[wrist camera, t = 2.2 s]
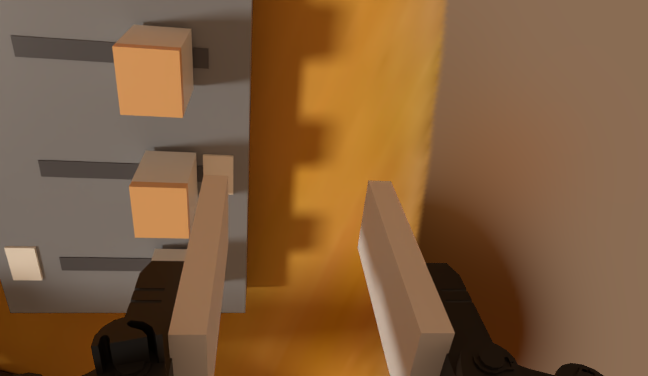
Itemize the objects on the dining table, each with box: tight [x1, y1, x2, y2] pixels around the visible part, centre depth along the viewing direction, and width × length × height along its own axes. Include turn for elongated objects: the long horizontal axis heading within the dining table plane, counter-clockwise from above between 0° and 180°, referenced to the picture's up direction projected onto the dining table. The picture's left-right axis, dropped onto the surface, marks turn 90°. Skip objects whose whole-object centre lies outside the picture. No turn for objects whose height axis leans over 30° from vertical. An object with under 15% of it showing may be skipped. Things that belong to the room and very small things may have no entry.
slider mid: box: [129, 151, 198, 239], centre depth 32 cm, size 3×4×5 cm
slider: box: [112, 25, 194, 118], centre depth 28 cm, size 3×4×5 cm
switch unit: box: [0, 0, 253, 313], centre depth 35 cm, size 18×26×3 cm
